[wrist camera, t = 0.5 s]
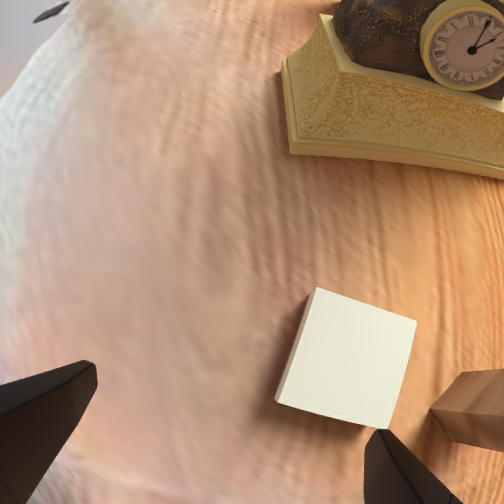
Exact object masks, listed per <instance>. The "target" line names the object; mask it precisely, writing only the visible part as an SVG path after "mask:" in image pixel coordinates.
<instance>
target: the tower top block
mask: <svg viewBox="0 0 504 504" xmlns="http://www.w3.org/2000/svg"><path fill="white" fill-rule="evenodd" d="M416 325H417V321H415V320H412V319H409V318H406V317H403V316H400V315H397V314H394V313H391V312H388V311H386V310H383V309H380V308H377V307H374V306H371V305H368V304H365V303H362V302H359V301H356V300H354V299H351V298H348V297H345V296H342V295H339V294H336V293H333V292H330V291H328V290H325V289H322V288H319V287H316V288H315V289H314V290H313V291H312V292H311V293H310V296H309V300H308V303H307V306H306V309H305V312H304V315H303V318H302V321H301V324H300V328H299V331H298V334H297V336H296V339H295V342H294V345H293V348H292V351H291V354H290V357H289V360H288V363H287V365H286V368H285V371H284V374H283V377H282V379H281V382H280V385H279V388H278V390H277V393H276V396H275V398H274V399H275V400H276V401H277V402H278V403H281V404H284V405H288V406H291V407H294V408H298V409H301V410H305V411H309V412H312V413H316V414H320V415H324V416H327V417H331V418H335V419H340V420H344V421H348V422H352V423H357V424H361V425H366V426H371V427H376V428H381V429H388V426H389V423H390V420H391V417H392V414H393V411H394V408H395V405H396V402H397V398H398V395H399V392H400V388H401V385H402V381H403V378H404V374H405V371H406V367H407V363H408V359H409V355H410V351H411V347H412V343H413V338H414V334H415V329H416Z"/></svg>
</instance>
